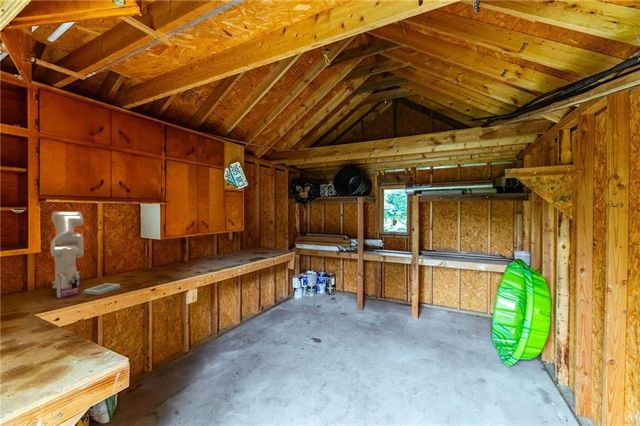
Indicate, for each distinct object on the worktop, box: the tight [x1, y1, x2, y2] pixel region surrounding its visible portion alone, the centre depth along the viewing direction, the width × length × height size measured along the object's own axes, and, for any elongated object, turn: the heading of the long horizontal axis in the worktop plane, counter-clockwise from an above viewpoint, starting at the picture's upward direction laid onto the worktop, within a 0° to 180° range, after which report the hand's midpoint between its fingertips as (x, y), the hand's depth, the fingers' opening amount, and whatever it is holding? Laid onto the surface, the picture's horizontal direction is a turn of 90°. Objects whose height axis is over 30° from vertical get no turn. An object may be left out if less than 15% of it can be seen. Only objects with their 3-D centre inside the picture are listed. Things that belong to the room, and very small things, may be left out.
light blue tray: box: [83, 283, 121, 294], centre depth 200 cm, size 12×18×2 cm, turn 175°
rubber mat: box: [79, 285, 124, 296], centre depth 200 cm, size 16×20×1 cm
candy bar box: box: [56, 271, 80, 299], centre depth 188 cm, size 11×5×16 cm, turn 161°
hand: (68, 287), depth 188 cm, fingers open, 9 cm apart
